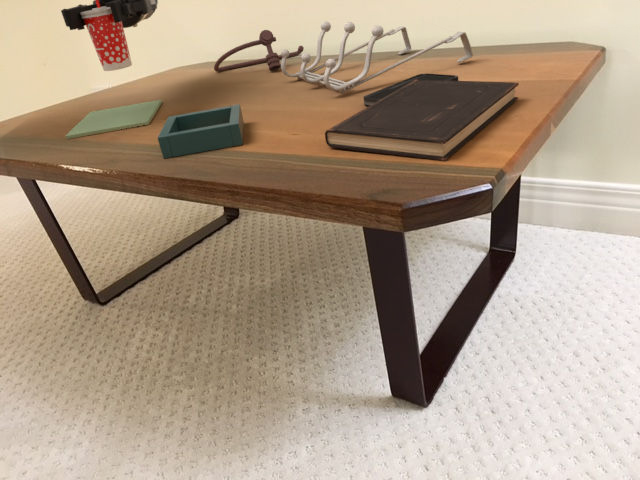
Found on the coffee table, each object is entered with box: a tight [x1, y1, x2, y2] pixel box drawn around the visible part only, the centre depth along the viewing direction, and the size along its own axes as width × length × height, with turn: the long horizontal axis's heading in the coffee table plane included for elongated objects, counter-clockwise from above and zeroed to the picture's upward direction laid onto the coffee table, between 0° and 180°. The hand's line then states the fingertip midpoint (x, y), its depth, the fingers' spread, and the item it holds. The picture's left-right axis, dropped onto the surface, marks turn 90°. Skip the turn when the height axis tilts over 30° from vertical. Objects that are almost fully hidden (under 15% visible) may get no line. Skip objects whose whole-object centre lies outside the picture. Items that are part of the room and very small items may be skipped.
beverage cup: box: [80, 0, 133, 72], centre depth 86 cm, size 6×6×14 cm
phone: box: [363, 73, 459, 107], centre depth 84 cm, size 8×1×15 cm
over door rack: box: [280, 20, 474, 94], centre depth 99 cm, size 22×29×10 cm
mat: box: [64, 99, 163, 140], centre depth 98 cm, size 14×16×1 cm
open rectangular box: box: [157, 103, 245, 160], centre depth 78 cm, size 11×11×3 cm
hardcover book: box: [324, 80, 520, 162], centre depth 70 cm, size 16×23×2 cm
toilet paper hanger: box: [213, 29, 305, 73], centre depth 122 cm, size 22×8×14 cm
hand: (92, 16), depth 80 cm, fingers closed on beverage cup, 6 cm apart
